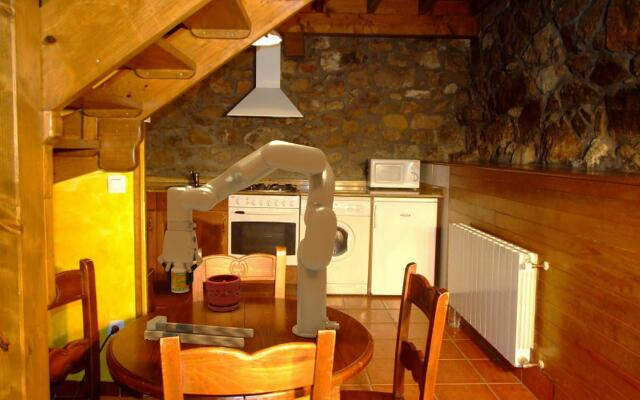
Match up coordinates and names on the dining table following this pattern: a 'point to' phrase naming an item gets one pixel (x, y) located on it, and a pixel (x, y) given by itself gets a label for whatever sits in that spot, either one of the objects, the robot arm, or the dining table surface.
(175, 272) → the supplement bottle
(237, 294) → the plant pot
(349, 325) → the dining table surface
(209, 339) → the guide channel
